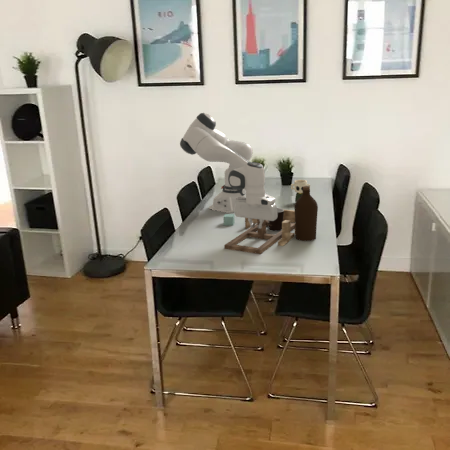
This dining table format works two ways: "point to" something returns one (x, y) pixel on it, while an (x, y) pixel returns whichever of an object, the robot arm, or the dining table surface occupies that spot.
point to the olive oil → (306, 216)
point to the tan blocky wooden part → (286, 233)
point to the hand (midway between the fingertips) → (256, 227)
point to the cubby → (287, 216)
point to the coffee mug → (277, 221)
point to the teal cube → (229, 219)
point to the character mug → (299, 187)
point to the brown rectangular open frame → (255, 233)
